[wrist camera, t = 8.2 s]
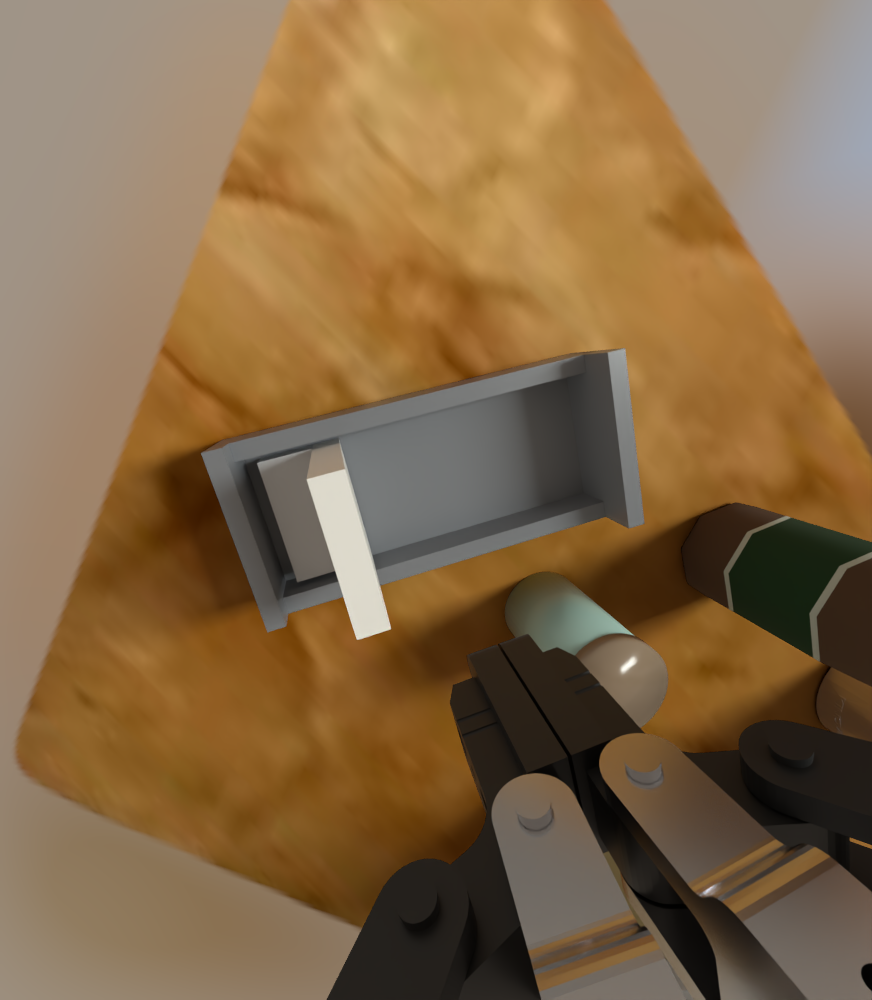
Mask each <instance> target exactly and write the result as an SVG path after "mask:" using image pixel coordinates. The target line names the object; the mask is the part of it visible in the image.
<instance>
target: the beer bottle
mask: <svg viewBox="0 0 872 1000" xmlns="http://www.w3.org/2000/svg"><path fill="white" fill-rule="evenodd" d="M681 551H682V557H683V563H684V569H685V575H686V580H687V582H688V584H689V585H691V586H692V587H694V588H695V589H696V590H698V591H699V592H701V593H702V594H704V595H706V596H707V597H709V598H711V599H713V600H714V601H716V602H718V603H719V604H721V605H723V606H725V607H726V608H728V609H730V610H732V611H733V612H735V613H737V614H739V615H740V616H742V617H744V618H745V619H747V620H749V621H751V622H752V623H754V624H756V625H758V626H759V627H761V628H763V629H764V630H766V631H768V632H770V633H771V634H773V635H775V636H777V637H778V638H780V639H782V640H783V641H785V642H787V643H789V644H790V645H792V646H794V647H796V648H797V649H799V650H801V651H802V652H804V653H806V654H808V655H809V656H811V657H813V658H815V659H816V660H818V661H820V662H822V663H824V664H826V665H828V666H830V667H832V668H834V669H836V670H838V671H840V672H842V673H844V674H846V675H848V676H850V677H852V678H854V679H856V680H858V681H860V682H863V683H865V684H867V685H869V686H871V687H872V542H869V541H866V540H862V539H859V538H856V537H853V536H849V535H846V534H843V533H840V532H836V531H833V530H830V529H826V528H823V527H820V526H817V525H813V524H810V523H807V522H803V521H800V520H797V519H794V518H790V517H787V516H784V515H780V514H777V513H774V512H771V511H767V510H764V509H761V508H758V507H754V506H749V505H745V504H741V503H733V504H730V505H727V506H725V507H722V508H720V509H717V510H715V511H712V512H710V513H707V514H705V515H702V516H700V517H699V519H698V521H697V522H696V524H695V526H694V528H693V529H692V531H691V533H690V534H689V536H688V538H687V540H686V541H685V543H684V545H683V546H682V548H681Z"/></svg>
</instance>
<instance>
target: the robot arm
mask: <svg viewBox="0 0 872 1000" xmlns="http://www.w3.org/2000/svg"><path fill="white" fill-rule="evenodd" d="M467 660H468V665H469V668H470V672H471V676H472V678H471V679H468V680H465V681H463V682H460V683H457V684H454V685H453V689H452V694H451V700H450V705H451V708H452V712H453V715H454V719H455V722H456V726H457V729H458V732H459V736H460V739H461V743H462V746H463V749H464V753H465V756H466V759H467V762H468V765H469V767H470V770H471V773H472V776H473V778H474V781H475V784H476V787H477V790H478V792H479V795H480V798H481V801H482V803H483V806H484V809H485V812H486V819H485V824H484V826H483V829H482V831H481V833H480V835H479V836H478V838H477V840H476V841H475V842H474V843H473V845H472V846H471V847H470V848H469V849H468V850H467V851H466V852H465V853H463V854H462V855H461V856H460V857H459V858H458V859H456V860H455V861H454V862H453V863H452V864H451V865H449V864H448V863H446V862H444V861H441V860H437V859H422V860H417V861H414V862H412V863H409V864H408V865H406V866H404V867H402V868H401V869H400V870H398V871H397V872H396V873H395V874H394V875H393V876H392V877H391V878H390V879H389V880H388V882H387V883H386V884H385V885H384V887H383V889H382V890H381V892H380V894H379V896H378V898H377V900H376V902H375V904H374V906H373V908H372V910H371V912H370V914H369V916H368V918H367V920H366V922H365V924H364V926H363V928H362V930H361V932H360V934H359V936H358V938H357V940H356V942H355V944H354V946H353V948H352V950H351V952H350V954H349V956H348V958H347V960H346V962H345V964H344V966H343V968H342V970H341V972H340V974H339V976H338V978H337V980H336V982H335V984H334V986H333V988H332V990H331V992H330V994H329V996H328V998H327V1000H686V998H685V996H684V994H683V992H682V990H681V988H680V986H679V984H678V982H677V980H676V978H675V976H674V974H673V972H672V971H671V969H670V967H669V965H668V963H667V961H666V959H665V957H666V958H667V960H668V961H669V963H670V964H671V966H672V968H673V969H674V971H675V972H676V974H677V975H678V977H679V978H680V980H681V981H682V983H683V984H684V986H685V987H686V989H687V990H688V992H689V993H690V995H691V996H692V998H693V999H694V1000H872V849H870V848H867V847H864V846H862V845H859V844H856V843H853V842H850V837H851V838H853V839H856V840H859V841H862V842H865V843H867V844H870V845H872V687H871V686H869V685H867V684H865V683H863V682H860V681H858V680H856V679H854V678H852V677H850V676H848V675H846V674H844V673H842V672H840V671H838V670H836V669H834V668H832V667H831V668H830V670H829V671H828V673H827V674H826V676H825V677H824V679H823V681H822V683H821V686H820V688H819V692H818V695H817V703H816V708H817V715H818V717H819V720H820V721H821V723H822V724H823V725H824V726H825V727H826V728H827V729H829V730H830V731H832V732H830V731H826V730H822V729H818V728H814V727H810V726H806V725H802V724H798V723H794V722H789V721H781V720H769V721H762V722H758V723H755V724H753V725H751V726H749V727H748V728H746V729H745V730H744V731H743V733H742V734H741V736H740V738H739V750H732V751H721V752H709V753H687V752H681V751H680V750H679V749H678V748H677V747H676V746H674V745H673V744H672V743H670V742H669V741H667V740H665V739H663V738H660V737H658V736H654V735H650V734H645V733H644V732H643V731H642V730H641V729H640V727H639V726H638V725H637V724H636V723H635V722H634V721H633V720H632V718H631V717H630V716H629V715H628V714H627V713H626V712H625V711H624V709H623V708H622V707H621V706H620V705H619V704H618V703H617V702H616V700H615V699H614V698H613V697H612V696H611V695H610V694H609V693H608V691H607V690H606V689H605V688H604V687H603V686H601V685H600V682H599V681H598V680H597V679H596V678H595V677H594V676H593V675H592V673H591V674H590V672H589V670H588V669H587V668H586V667H585V666H584V664H583V663H582V662H581V661H580V660H579V659H578V658H577V657H576V656H575V655H573V654H571V653H568V652H566V651H564V650H562V649H560V648H558V647H556V648H553V649H550V650H547V651H545V652H542V650H541V649H540V648H539V647H538V645H537V644H536V643H535V641H534V640H533V639H532V638H531V636H530V635H529V634H525V635H522V636H519V637H516V638H514V639H511V640H508V641H505V642H502V643H500V644H498V646H497V645H494V646H492V647H489V648H486V649H483V650H480V651H478V652H475V653H472V654H469V655H467ZM608 851H609V853H610V855H611V856H612V858H613V860H614V862H615V863H616V865H617V867H618V868H619V870H620V875H621V880H622V885H623V889H624V892H625V895H626V897H627V899H628V900H629V902H630V904H631V905H632V907H633V908H634V910H635V911H636V913H637V914H638V916H639V917H640V919H641V921H642V922H643V924H644V925H645V926H642V927H641V926H640V925H639V924H638V922H637V921H636V919H635V917H634V916H633V914H632V912H631V910H630V908H629V906H628V904H627V901H626V899H625V897H624V895H623V893H622V891H621V889H620V887H619V885H618V883H617V881H616V879H615V877H614V875H613V873H612V871H611V869H610V867H609V865H608V863H607V860H606V858H605V856H604V854H603V853H605V852H608ZM662 952H663V953H662ZM663 954H664V955H665V957H664V955H663Z"/></svg>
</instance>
